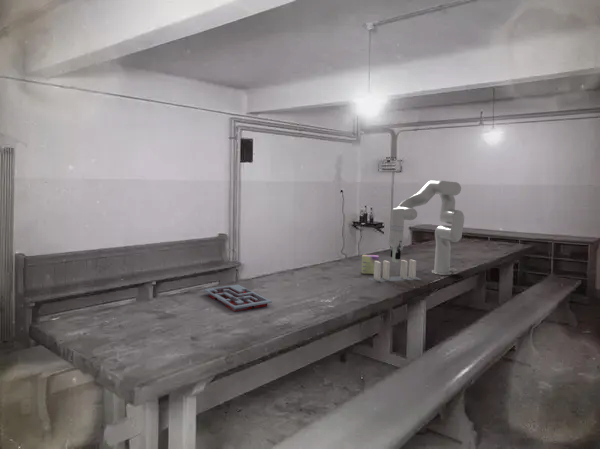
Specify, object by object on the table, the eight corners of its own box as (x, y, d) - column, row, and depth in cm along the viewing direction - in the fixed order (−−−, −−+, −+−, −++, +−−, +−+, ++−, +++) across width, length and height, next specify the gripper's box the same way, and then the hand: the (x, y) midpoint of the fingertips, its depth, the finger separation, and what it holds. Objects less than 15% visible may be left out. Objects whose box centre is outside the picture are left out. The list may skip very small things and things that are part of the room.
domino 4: (402, 277, 286) (403, 259, 285) (406, 279, 281) (407, 261, 280) (399, 277, 286) (400, 259, 284) (404, 279, 281) (405, 261, 279)
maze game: (271, 307, 221) (271, 300, 221) (234, 313, 210) (234, 307, 210) (238, 290, 250) (238, 284, 250) (204, 295, 239) (204, 289, 239)
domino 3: (394, 261, 283) (395, 243, 282) (398, 262, 278) (399, 244, 277) (391, 261, 282) (392, 243, 281) (395, 263, 278) (396, 245, 276)
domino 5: (411, 276, 288) (412, 259, 286) (415, 278, 283) (416, 261, 282) (408, 276, 287) (409, 259, 286) (412, 278, 283) (413, 261, 281)
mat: (413, 276, 291) (413, 275, 291) (421, 280, 282) (422, 279, 282) (367, 278, 282) (367, 277, 282) (374, 282, 272) (374, 281, 272)
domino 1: (376, 278, 281) (377, 260, 279) (380, 280, 276) (381, 262, 275) (373, 278, 280) (374, 260, 279) (377, 280, 275) (378, 262, 274)
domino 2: (385, 278, 283) (386, 260, 281) (389, 280, 278) (390, 262, 276) (382, 278, 282) (383, 260, 281) (386, 280, 277) (387, 262, 276)
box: (377, 272, 299) (378, 255, 297) (378, 275, 293) (378, 256, 292) (361, 272, 300) (362, 254, 298) (361, 274, 294) (362, 256, 293)
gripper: (384, 226, 285) (383, 255, 287) (398, 230, 269) (396, 261, 271) (395, 226, 287) (394, 255, 289) (410, 230, 271) (408, 260, 273)
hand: (395, 257), depth 280 cm, fingers closed on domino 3, 4 cm apart
